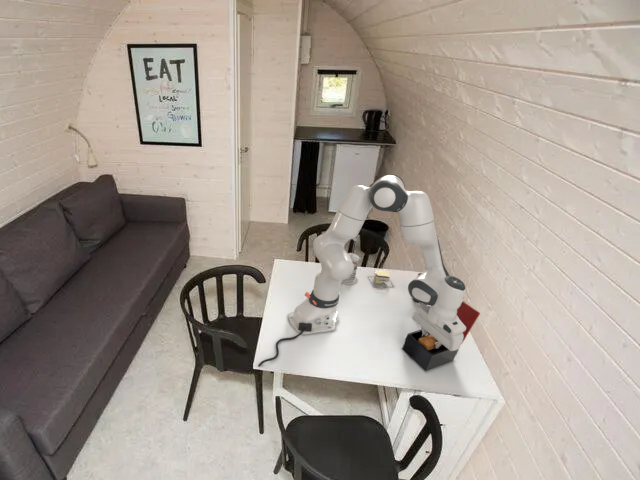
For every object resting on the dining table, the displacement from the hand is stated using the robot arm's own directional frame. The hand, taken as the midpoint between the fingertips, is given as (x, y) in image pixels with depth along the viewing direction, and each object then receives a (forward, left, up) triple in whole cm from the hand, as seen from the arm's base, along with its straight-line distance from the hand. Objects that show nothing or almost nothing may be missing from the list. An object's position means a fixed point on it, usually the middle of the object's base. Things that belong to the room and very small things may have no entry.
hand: (430, 342), depth 141 cm
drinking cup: (+25, +29, -8) cm, 40 cm away
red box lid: (+9, 0, +9) cm, 13 cm away
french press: (+2, +57, -8) cm, 58 cm away
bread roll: (0, 0, -2) cm, 2 cm away
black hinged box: (+1, 0, -8) cm, 8 cm away
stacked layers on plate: (+18, +48, -8) cm, 52 cm away
